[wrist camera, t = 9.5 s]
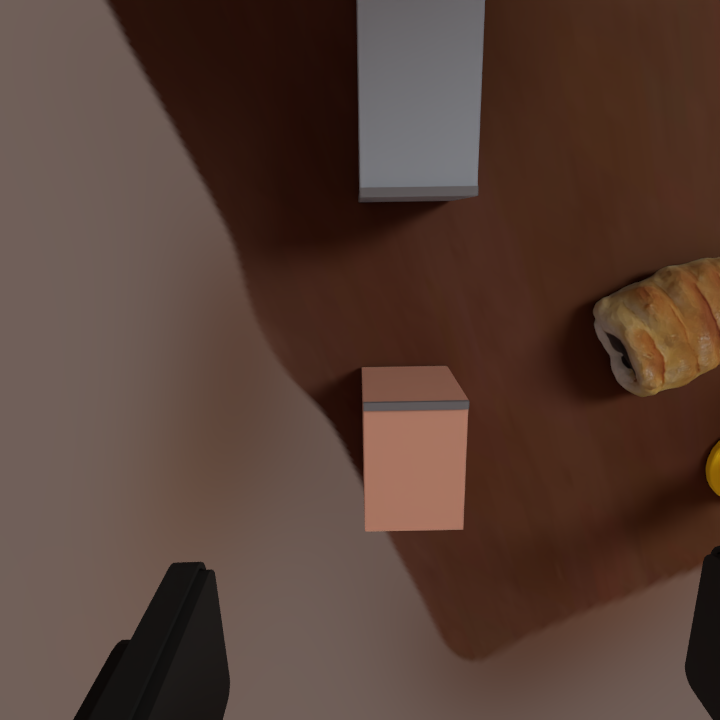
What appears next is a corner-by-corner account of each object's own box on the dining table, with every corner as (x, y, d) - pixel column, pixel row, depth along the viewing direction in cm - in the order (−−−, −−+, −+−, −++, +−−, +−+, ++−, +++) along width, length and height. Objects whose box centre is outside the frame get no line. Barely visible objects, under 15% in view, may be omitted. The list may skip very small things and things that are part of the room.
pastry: (731, 221, 29) (786, 222, 25) (769, 324, 31) (826, 339, 27) (576, 304, 30) (607, 317, 26) (620, 399, 32) (655, 423, 28)
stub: (361, 367, 31) (363, 403, 25) (447, 365, 31) (469, 401, 25) (363, 475, 32) (365, 533, 26) (443, 474, 32) (463, 531, 26)
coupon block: (354, -59, 25) (354, -147, 19) (459, -60, 25) (492, -148, 19) (358, 202, 28) (359, 197, 22) (451, 200, 28) (477, 195, 22)
